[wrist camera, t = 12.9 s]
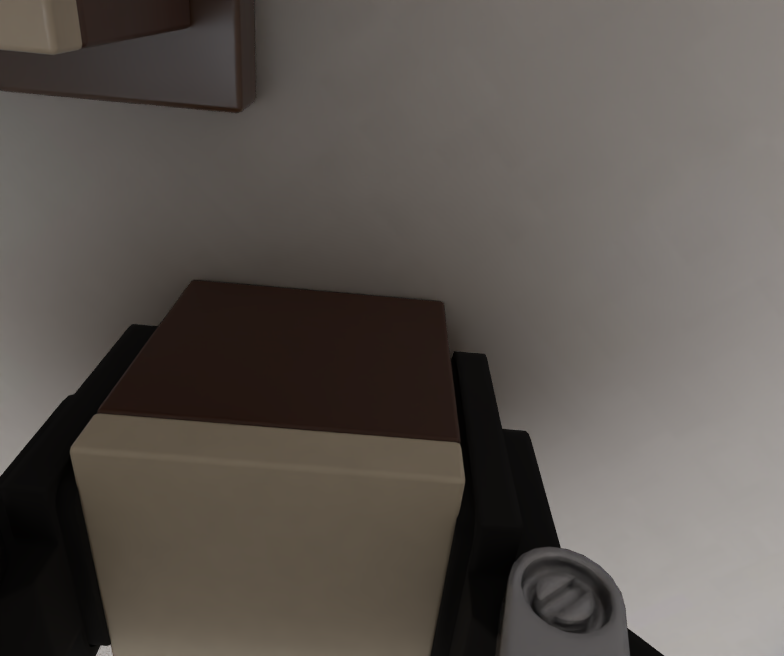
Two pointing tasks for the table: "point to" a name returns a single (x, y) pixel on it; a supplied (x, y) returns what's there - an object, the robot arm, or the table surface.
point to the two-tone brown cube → (276, 477)
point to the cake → (132, 51)
